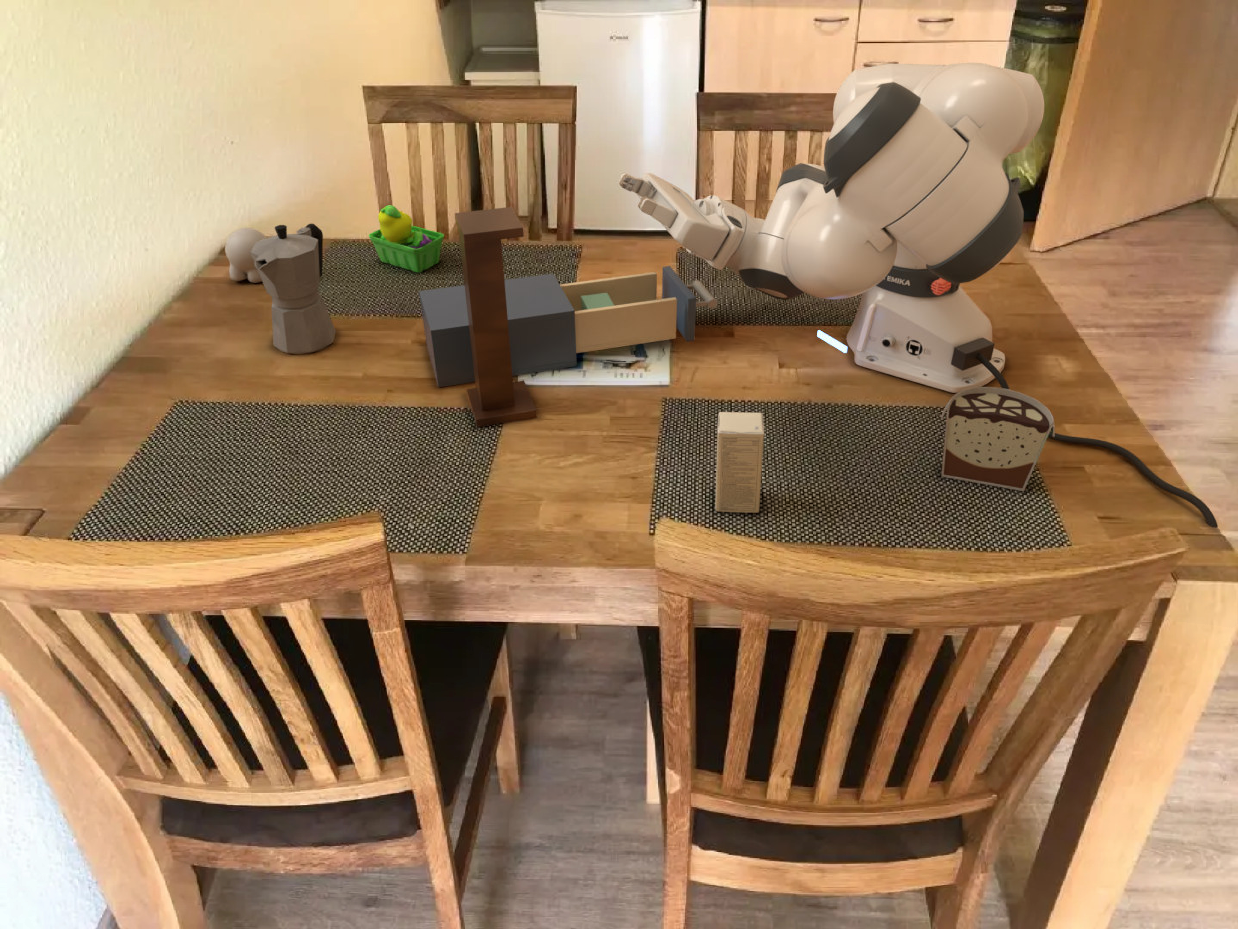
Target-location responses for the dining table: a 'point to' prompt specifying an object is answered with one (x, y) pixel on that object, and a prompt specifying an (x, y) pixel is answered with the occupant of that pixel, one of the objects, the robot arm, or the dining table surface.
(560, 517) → the dining table surface
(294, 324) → the coffeepot
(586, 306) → the brush
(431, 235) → the fruit basket
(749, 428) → the box
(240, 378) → the dining table surface
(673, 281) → the drawer
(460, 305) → the cabinet
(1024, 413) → the food container
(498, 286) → the pedestal
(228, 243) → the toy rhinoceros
